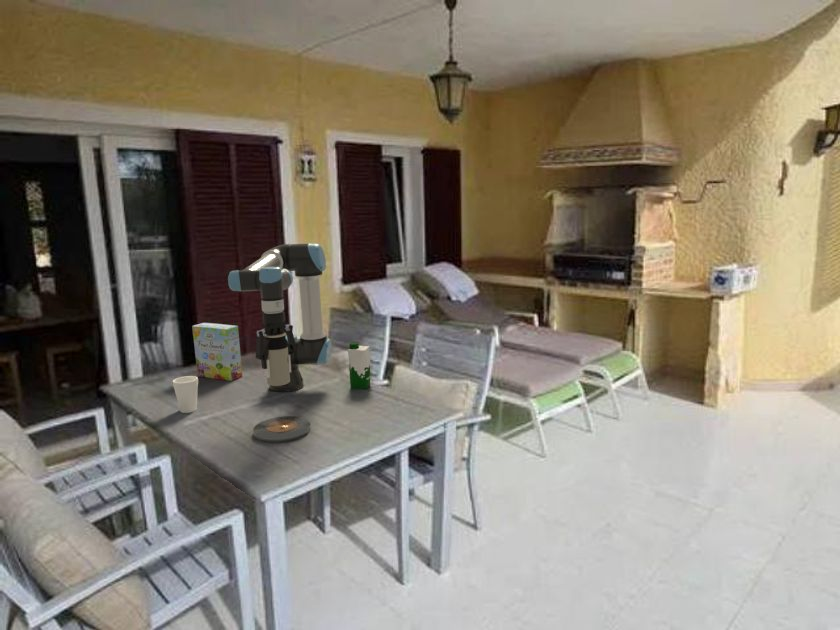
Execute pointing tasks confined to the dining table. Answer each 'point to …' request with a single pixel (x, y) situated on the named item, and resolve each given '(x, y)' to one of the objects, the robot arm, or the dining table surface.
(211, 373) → the snack box
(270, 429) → the grey flat disc
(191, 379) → the foam cup
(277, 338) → the travel mug
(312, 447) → the dining table surface
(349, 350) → the soya milk
